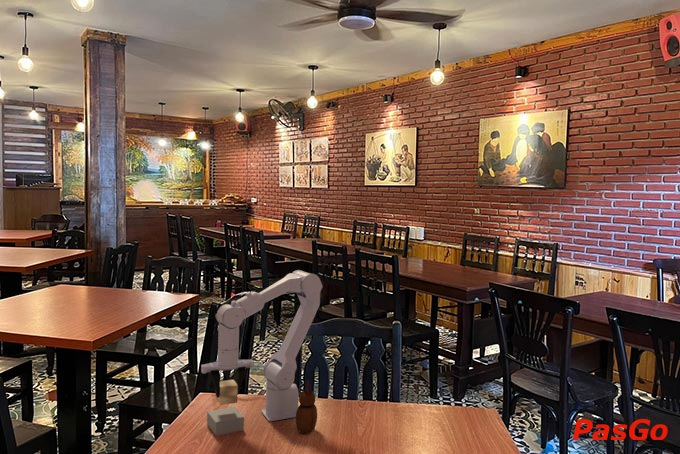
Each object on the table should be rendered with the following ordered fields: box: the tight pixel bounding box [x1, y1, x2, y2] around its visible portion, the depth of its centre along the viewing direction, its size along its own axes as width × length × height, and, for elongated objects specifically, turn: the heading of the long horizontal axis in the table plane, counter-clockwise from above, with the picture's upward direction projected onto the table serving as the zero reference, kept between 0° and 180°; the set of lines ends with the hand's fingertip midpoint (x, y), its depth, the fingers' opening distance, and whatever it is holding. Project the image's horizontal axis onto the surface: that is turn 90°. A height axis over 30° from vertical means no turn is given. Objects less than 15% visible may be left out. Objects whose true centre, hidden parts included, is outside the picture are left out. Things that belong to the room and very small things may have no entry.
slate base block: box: [206, 406, 245, 437], centre depth 145 cm, size 8×8×4 cm
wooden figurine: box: [295, 380, 318, 435], centre depth 144 cm, size 7×6×15 cm
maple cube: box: [216, 379, 238, 406], centre depth 145 cm, size 5×5×5 cm
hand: (227, 394), depth 145 cm, fingers closed on maple cube, 5 cm apart
